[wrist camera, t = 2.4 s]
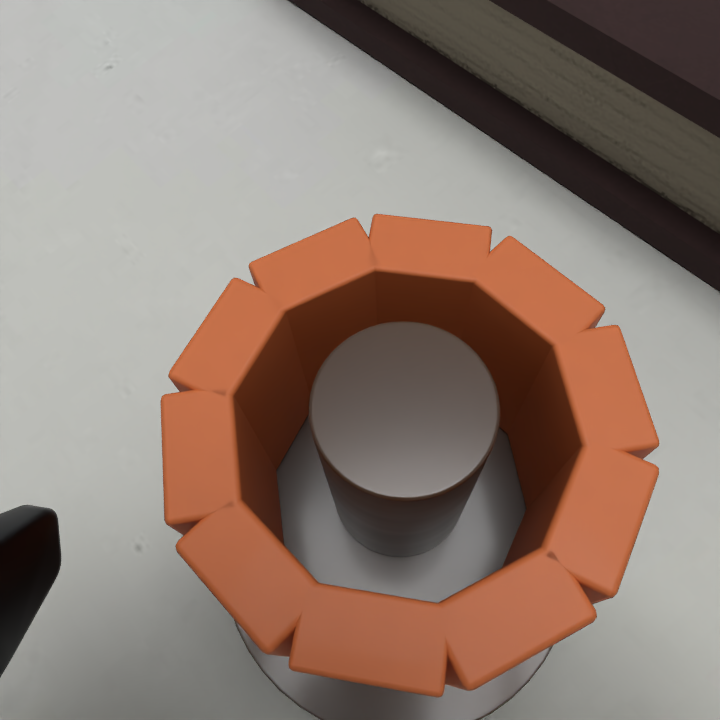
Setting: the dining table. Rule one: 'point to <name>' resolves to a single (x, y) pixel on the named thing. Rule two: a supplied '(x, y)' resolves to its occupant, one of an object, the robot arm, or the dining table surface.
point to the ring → (517, 418)
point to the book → (576, 97)
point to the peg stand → (399, 501)
